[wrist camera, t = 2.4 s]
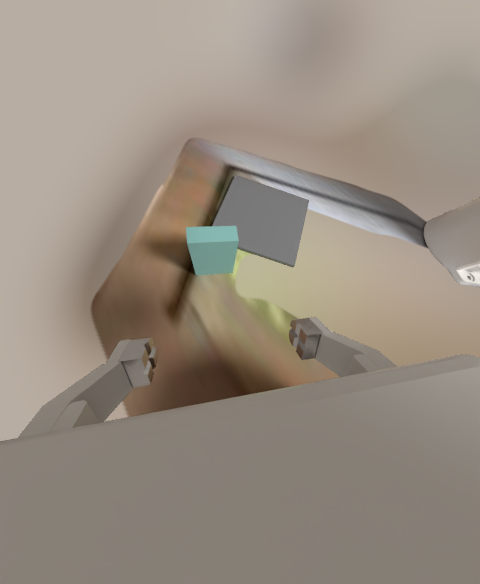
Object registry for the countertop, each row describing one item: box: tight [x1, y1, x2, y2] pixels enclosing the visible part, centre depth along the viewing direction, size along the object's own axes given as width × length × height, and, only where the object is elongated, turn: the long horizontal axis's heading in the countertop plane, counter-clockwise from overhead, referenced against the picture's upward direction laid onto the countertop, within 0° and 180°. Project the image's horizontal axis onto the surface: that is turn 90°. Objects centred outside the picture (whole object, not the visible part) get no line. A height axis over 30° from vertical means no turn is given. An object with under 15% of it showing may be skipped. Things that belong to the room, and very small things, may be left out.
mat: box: [212, 175, 309, 267], centre depth 34 cm, size 16×16×1 cm
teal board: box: [186, 226, 239, 275], centre depth 25 cm, size 2×6×9 cm, turn 98°
